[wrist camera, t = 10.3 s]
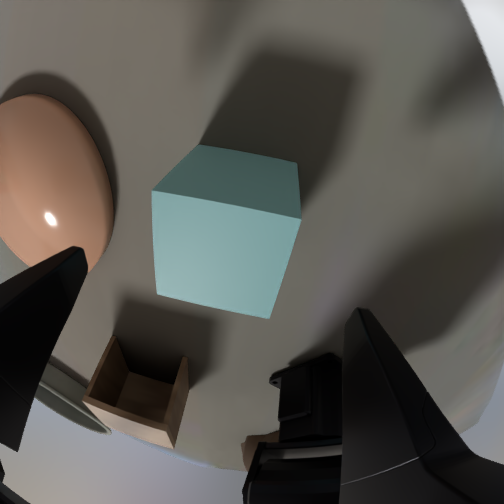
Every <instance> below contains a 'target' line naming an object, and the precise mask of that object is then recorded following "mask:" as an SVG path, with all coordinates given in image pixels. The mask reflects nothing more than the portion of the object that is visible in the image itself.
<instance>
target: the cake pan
mask: <svg viewBox="0 0 504 504" xmlns="http://www.w3.org/2000/svg"><path fill="white" fill-rule="evenodd" d="M86 390H87V389H86V388H85V387H83V386H82V385H81V384H79V383H78V382H76V381H75V380H73V379H72V378H71V377H69V376H68V375H66V374H65V373H63V372H62V371H60V370H58V369H57V368H55V367H54V366H52V365H51V364H49V363H47V365H46V368H45V370H44V373H43V375H42V378H41V381H40V383H39V386H38V388H37V391H36V394H35V397H34V398H36V399H37V400H38V401H40V402H41V403H43V404H44V405H45V406H47V407H48V408H50V409H52V410H53V411H55V412H56V413H58V414H60V415H61V416H63V417H65V418H67V419H68V420H70V421H72V422H74V423H76V424H78V425H80V426H83V427H85V428H87V429H89V430H92V431H94V432H97V433H100V434H105V435H110V434H111V433H112V432H111V430H110V429H109V428H108V427H107V426H105V425H104V424H103V423H102V422H101V421H100V420H99V419H98V418H97V417H96V416H95V414H94V413H93V412H92V411H91V410H90V409H89V408H88V407H87V406H86V405H85V404H84V403H83V401H82V399H83V397H84V394H85V392H86Z"/></svg>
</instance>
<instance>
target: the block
mask: <svg viewBox="0 0 504 504" xmlns="http://www.w3.org/2000/svg"><path fill="white" fill-rule="evenodd" d="M300 223H301V205H300V192H299V180H298V168H297V163H295V162H291V161H286V160H282V159H277V158H272V157H268V156H263V155H258V154H252V153H247V152H242V151H236V150H231V149H225V148H219V147H212V146H206V145H199V144H198V145H197V146H196V147H195V148H194V149H193V150H192V151H191V152H190V153H189V154H188V155H187V156H186V157H185V158H183V159H182V160H181V161H180V162H179V163H178V164H177V165H176V166H175V167H174V168H173V169H172V170H171V171H170V172H169V173H168V174H167V175H166V176H165V177H164V178H163V179H162V180H161V181H160V182H159V183H158V184H157V185H156V187H155V188H154V189H153V190H152V226H153V248H154V264H155V277H156V288H157V294H158V295H162V296H166V297H170V298H175V299H179V300H183V301H187V302H191V303H196V304H200V305H204V306H209V307H213V308H218V309H222V310H227V311H232V312H237V313H242V314H247V315H252V316H257V317H262V318H267V319H269V318H270V315H271V312H272V309H273V306H274V303H275V300H276V297H277V294H278V291H279V288H280V285H281V282H282V279H283V276H284V273H285V270H286V267H287V264H288V261H289V258H290V255H291V251H292V248H293V245H294V242H295V239H296V236H297V232H298V229H299V226H300Z"/></svg>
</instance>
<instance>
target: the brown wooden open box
mask: <svg viewBox="0 0 504 504" xmlns="http://www.w3.org/2000/svg"><path fill="white" fill-rule="evenodd" d="M188 393H189V377H188V358H187V357H183V358H182V361H181V364H180V368H179V371H178V374H177V377H176V381H175V384H174V385H172V384H169V383H165V382H161V381H158V380H155V379H151V378H148V377H145V376H141V375H138V374H135V373H132V372H129V370H128V367H127V365H126V362H125V360H124V357H123V355H122V352H121V349H120V347H119V344H118V341H117V339H116V337H115V336H112V337H111V339H110V341H109V343H108V345H107V347H106V349H105V351H104V353H103V355H102V357H101V359H100V361H99V363H98V366H97V368H96V370H95V372H94V374H93V376H92V379H91V381H90V383H89V385H88V388H87V390H86V392H85V394H84V397H83V399H82V401H83V403H84V404H85V405H86V406H87V407H88V408H89V409H90V410H91V411H92V412H93V413H94V414H95V416H96V417H97V418H98V419H99V420H100V421H101V422H102V423H103V424H104V425H105V426H107V427H109V428H112V429H114V430H117V431H119V432H122V433H125V434H127V435H130V436H133V437H136V438H139V439H142V440H145V441H148V442H151V443H154V444H158V445H161V446H164V447H168V448H171V449H174V447H175V443H176V439H177V435H178V431H179V427H180V424H181V420H182V416H183V412H184V408H185V405H186V401H187V397H188Z"/></svg>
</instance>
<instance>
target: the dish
mask: <svg viewBox="0 0 504 504" xmlns="http://www.w3.org/2000/svg"><path fill="white" fill-rule="evenodd" d="M113 222H114V208H113V197H112V192H111V186H110V182H109V178H108V175H107V171H106V168H105V165H104V163H103V160H102V157H101V155H100V153H99V151H98V149H97V147H96V144H95V142H94V141H93V139H92V137H91V136H90V134H89V132H88V131H87V129H86V128H85V126H84V125H83V124H82V123H81V121H80V120H79V119H78V117H77V116H76V115H75V114H74V113H73V112H72V111H71V110H70V109H69V108H67V107H66V106H65V105H63V104H62V103H61V102H59V101H57V100H56V99H54V98H52V97H49V96H46V95H43V94H33V93H32V94H26V95H22V96H19V97H16V98H13V99H11V100H8V101H6V102H4V103H2V104H1V105H0V236H1V238H2V239H3V240H4V242H5V243H6V244H7V245H8V247H9V248H10V249H11V250H12V251H13V252H14V253H15V254H16V255H17V256H18V257H19V258H20V259H21V260H22V261H24V262H25V263H26V264H27V265H29V266H30V267H32V266H34V265H36V264H37V263H39V262H41V261H43V260H45V259H47V258H49V257H51V256H53V255H55V254H57V253H59V252H61V251H63V250H65V249H67V248H69V247H71V246H78V247H81V248H83V249H84V251H85V255H86V259H87V263H88V272H89V271H91V269H92V268H93V267H94V266H95V264H96V263H97V262H98V260H99V259H100V258H101V256H102V255H103V254H104V252H105V251H106V249H107V247H108V245H109V242H110V239H111V236H112V230H113Z"/></svg>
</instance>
